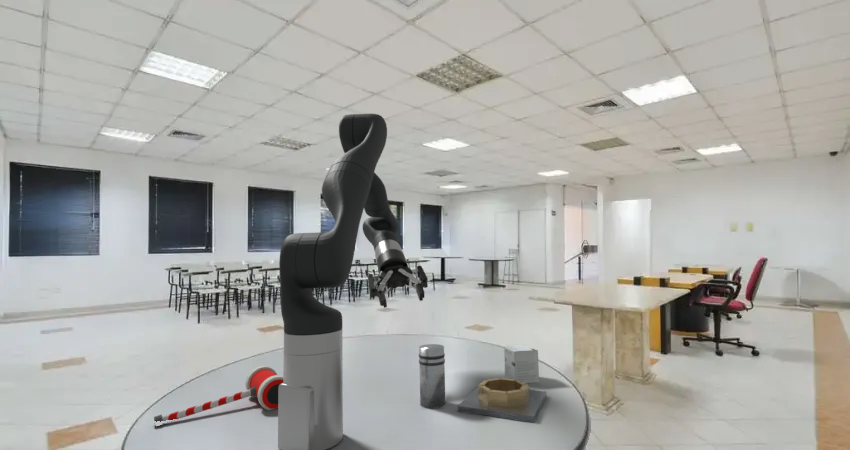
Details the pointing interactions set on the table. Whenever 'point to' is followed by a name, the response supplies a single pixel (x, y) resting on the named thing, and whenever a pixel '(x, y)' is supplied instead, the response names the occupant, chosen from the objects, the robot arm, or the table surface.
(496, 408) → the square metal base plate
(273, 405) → the toy hammer
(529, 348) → the skincare box
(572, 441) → the table surface
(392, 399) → the table surface
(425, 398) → the piston
